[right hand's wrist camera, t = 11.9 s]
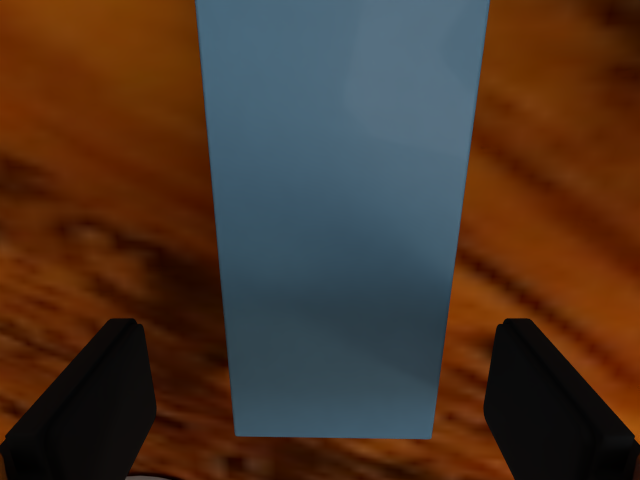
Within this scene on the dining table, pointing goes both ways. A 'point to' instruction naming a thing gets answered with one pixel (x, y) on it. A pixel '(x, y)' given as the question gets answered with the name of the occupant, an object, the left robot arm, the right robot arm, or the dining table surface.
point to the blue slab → (338, 204)
